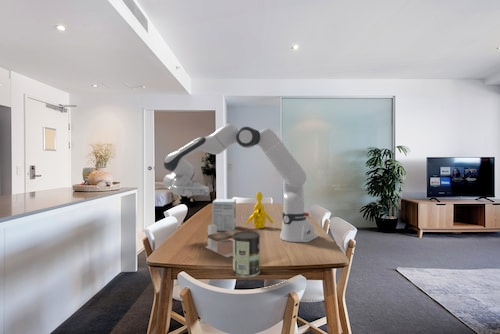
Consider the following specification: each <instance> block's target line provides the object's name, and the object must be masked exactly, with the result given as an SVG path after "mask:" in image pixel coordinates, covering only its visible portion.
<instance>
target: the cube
mask: <svg viewBox="0 0 500 334" xmlns="http://www.w3.org/2000/svg"><path fill="white" fill-rule="evenodd" d="M217 252H218V253H217V254H219V253H220V254H219V255H221V254H222V255H221V256H223V255H226V254H229V253H233V240H231V239H226V240H221V241H217Z"/></svg>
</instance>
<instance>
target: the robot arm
mask: <svg viewBox="0 0 500 334" xmlns="http://www.w3.org/2000/svg"><path fill="white" fill-rule="evenodd" d="M234 144H238V145H239V146H241V147H242V148H245V149H250V148H253V147H254V146H258V147H259V148H260V149H261V150H262V152H263V154H265V156H266V157H267V158H268V160H269V162H271V165H272V166H273V167H274V168H275V170H276V171H277V172H278V174H279V175H280V176H281V177H282V191H283V192H282V193H283V195H282V197H283V206H282V207H283V211H282V222H281V229H280V231H281V232H280V234H279V236H280V237H279V239H281V240H282V241H285V242H292V243H308V242H311V241H313V240H315V239H317V238H319V234H318V233H316V232H315V227H314V225H313V223H311V222H310V221H309V220H307V217H310V213H309V212H305V193H304V184H305V183H306V181H307V173H306V171H305V170H304V169H303V168H302V166H301V164H299V162H298V160H296V159H295V158H294V156H293V155H292V154H291V152H290V151H289V150H288V148H287V147H286V146H285V144H284V143H283V142H282V140H281V139H280V137H279V136H278V135H277V134H276V133H275V132H274V131H273V130H272V129H271V128H268V127H265V128H263V129H261V130H256V129H255V128H254V127H250V126H242V127H240V128H237V127H236V126H235V125H234V124H232V123H226V124H225V125H223V126H221V127H219V128H218V129H217V130H215V131H214V132H213V133H211V134H210V135H206V136H200V137H199V136H198V137H197V138H196V139H195V138H194V140H192V141H190V142H188V143H187V144H185V145H183V146H182V147H181V148H179V149H177V150H175V151H172V152H170V153H168V154H167V155H166V156H164V159H163V166H164V169H165V170H167V171H168V172H171V173H169V174H166V175H164V177H163V186H164V187H165V188H166V189H167V190H169V191H170V192H171V193H172V194H174V195H176V196H181V197H187V196H190V197H191V196H198V195H200V196H201V195H202V196H209V194H210V188H209V186H206V185H204V184H201V183H200V182H199V181H196V180H195V181H193V179H194V176H195V173H196V169H195V166H193V165H192V164H191V163H190V162H189V161H187V160H186V159H185V158H186V157H188V156H190V155H192V154H193V153H195V152H205V153H208V154H211V155H219V154H222V153H223V152H224V151H226V150H227V149H228V148H230V146H232V145H234Z"/></svg>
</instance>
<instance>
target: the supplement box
mask: <svg viewBox="0 0 500 334" xmlns="http://www.w3.org/2000/svg"><path fill="white" fill-rule="evenodd" d="M211 208H212V210H211V213H212V214H211V215H212V217H211V220H212V221H211V225H212V224H214V225H217V232H218V231H219V232H226V231H231V230H236V227H237V199H235V198H215V199H214V200H213V201H212V205H211Z"/></svg>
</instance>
